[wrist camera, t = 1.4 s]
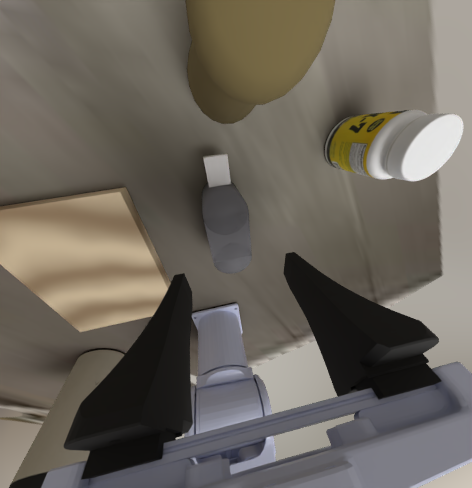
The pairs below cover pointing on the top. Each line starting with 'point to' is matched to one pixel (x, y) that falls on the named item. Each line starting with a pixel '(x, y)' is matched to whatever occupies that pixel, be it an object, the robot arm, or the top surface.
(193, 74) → the cork
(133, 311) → the wooden board
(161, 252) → the top surface
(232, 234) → the connector
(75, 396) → the travel mug
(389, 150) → the supplement bottle
